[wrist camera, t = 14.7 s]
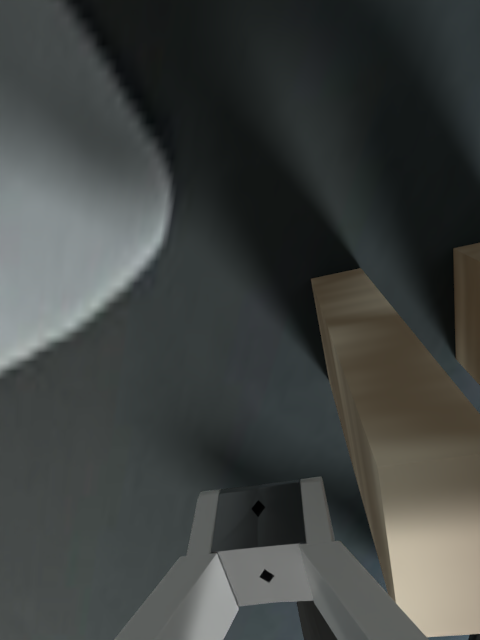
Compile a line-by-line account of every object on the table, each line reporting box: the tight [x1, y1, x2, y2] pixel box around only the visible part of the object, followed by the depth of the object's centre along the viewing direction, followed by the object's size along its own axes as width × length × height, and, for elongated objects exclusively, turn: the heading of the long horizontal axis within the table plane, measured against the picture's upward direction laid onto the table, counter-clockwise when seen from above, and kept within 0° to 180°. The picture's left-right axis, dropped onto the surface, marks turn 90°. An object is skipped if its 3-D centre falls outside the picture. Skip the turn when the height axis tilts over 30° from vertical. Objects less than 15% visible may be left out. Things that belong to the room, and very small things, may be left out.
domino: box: [311, 268, 480, 637], centre depth 12 cm, size 2×5×10 cm, turn 14°
